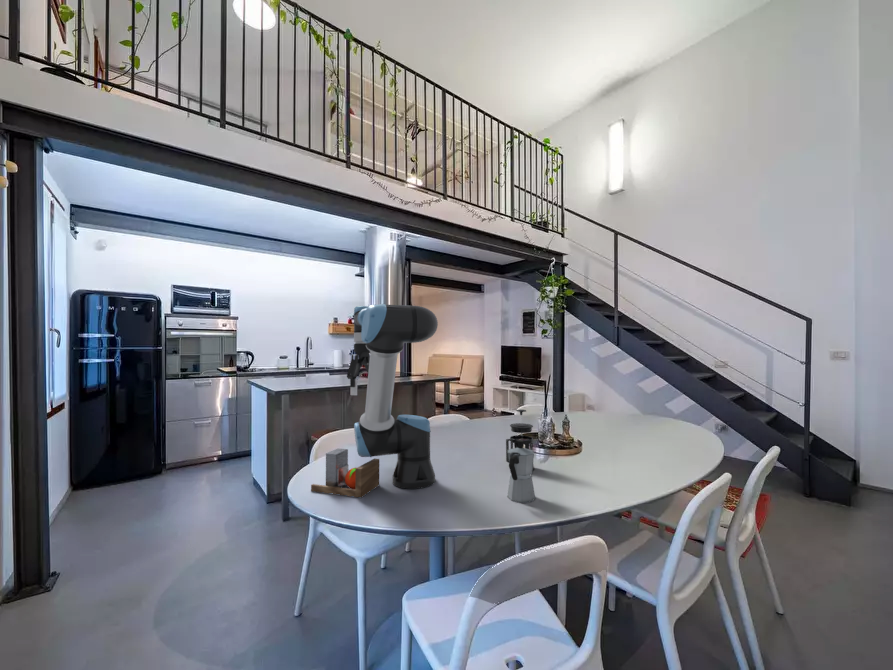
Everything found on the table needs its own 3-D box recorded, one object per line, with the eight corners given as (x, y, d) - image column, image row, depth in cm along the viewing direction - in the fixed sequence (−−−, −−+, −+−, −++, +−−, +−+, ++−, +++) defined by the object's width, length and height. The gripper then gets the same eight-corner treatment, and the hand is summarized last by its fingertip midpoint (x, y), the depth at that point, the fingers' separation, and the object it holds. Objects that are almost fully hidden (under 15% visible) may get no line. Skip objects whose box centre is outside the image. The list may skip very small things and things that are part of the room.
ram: (349, 484, 134) (349, 449, 134) (337, 491, 127) (337, 454, 128) (337, 482, 135) (338, 448, 136) (325, 489, 129) (325, 453, 129)
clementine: (359, 494, 124) (359, 472, 125) (339, 493, 126) (339, 471, 126) (369, 485, 132) (369, 465, 132) (350, 484, 134) (350, 464, 134)
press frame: (379, 485, 133) (379, 458, 133) (360, 497, 121) (361, 469, 122) (332, 479, 139) (332, 454, 139) (311, 491, 127) (311, 463, 128)
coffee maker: (515, 488, 129) (514, 434, 130) (540, 493, 124) (540, 437, 125) (497, 504, 116) (496, 444, 117) (525, 510, 111) (524, 447, 112)
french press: (528, 463, 157) (527, 407, 158) (540, 470, 148) (539, 410, 149) (501, 466, 154) (501, 408, 154) (512, 473, 145) (511, 412, 145)
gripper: (370, 343, 175) (370, 390, 174) (338, 342, 151) (337, 396, 151) (384, 343, 173) (384, 390, 172) (354, 342, 149) (354, 397, 148)
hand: (362, 393), depth 161 cm, fingers open, 13 cm apart
